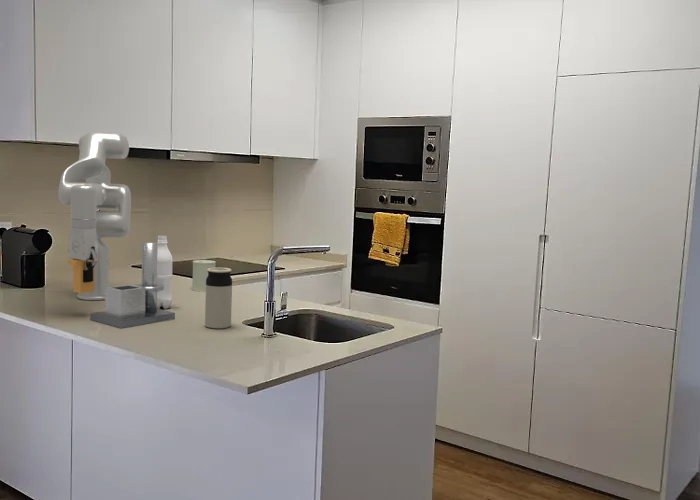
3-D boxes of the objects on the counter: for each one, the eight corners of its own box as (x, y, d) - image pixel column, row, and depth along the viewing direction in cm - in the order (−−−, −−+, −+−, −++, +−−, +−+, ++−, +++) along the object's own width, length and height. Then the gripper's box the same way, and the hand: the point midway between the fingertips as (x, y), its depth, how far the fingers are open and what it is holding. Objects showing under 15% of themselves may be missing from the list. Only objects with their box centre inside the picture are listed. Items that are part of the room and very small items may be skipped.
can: (187, 290, 275) (187, 260, 273) (200, 287, 283) (201, 258, 282) (206, 292, 271) (207, 262, 270) (219, 289, 280) (220, 260, 278)
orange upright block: (68, 292, 219) (68, 259, 218) (92, 288, 226) (91, 257, 224) (75, 294, 217) (75, 261, 215) (99, 290, 223) (99, 258, 222)
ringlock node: (90, 319, 215) (90, 243, 213) (145, 311, 232) (145, 240, 229) (121, 328, 206) (122, 248, 203) (176, 318, 222) (177, 244, 220)
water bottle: (176, 307, 241) (177, 235, 238) (164, 310, 234) (165, 237, 231) (158, 304, 243) (159, 234, 240) (146, 308, 236) (147, 235, 234)
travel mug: (218, 330, 209) (220, 271, 207) (199, 326, 213) (200, 268, 211) (236, 326, 216) (237, 269, 214) (217, 322, 220) (218, 266, 218)
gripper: (58, 221, 220) (58, 278, 223) (88, 227, 210) (88, 286, 213) (79, 220, 226) (79, 275, 229) (109, 226, 216) (109, 283, 219)
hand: (83, 280), depth 221 cm, fingers closed on orange upright block, 4 cm apart
